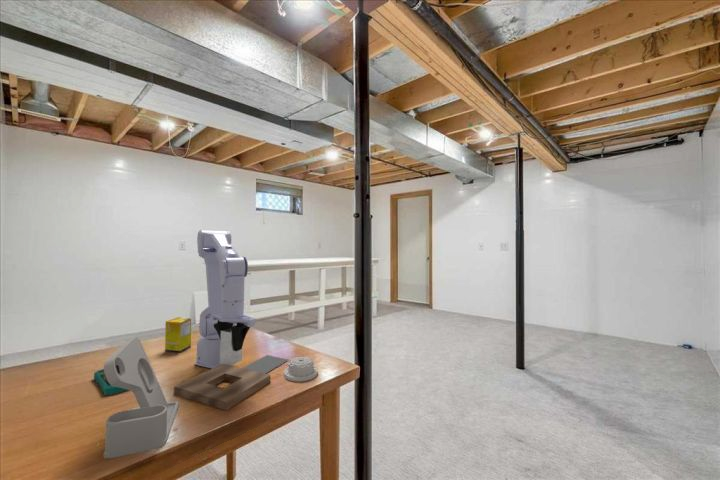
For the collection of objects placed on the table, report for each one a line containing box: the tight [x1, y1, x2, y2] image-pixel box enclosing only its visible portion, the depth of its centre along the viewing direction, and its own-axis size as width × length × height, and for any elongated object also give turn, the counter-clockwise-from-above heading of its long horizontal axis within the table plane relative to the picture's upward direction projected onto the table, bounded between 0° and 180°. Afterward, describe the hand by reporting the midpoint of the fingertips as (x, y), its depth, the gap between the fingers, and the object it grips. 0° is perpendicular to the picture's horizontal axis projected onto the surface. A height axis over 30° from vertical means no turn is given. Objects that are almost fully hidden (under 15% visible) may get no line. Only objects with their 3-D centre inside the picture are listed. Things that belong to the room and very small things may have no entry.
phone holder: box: [103, 336, 180, 459], centre depth 65 cm, size 17×10×18 cm, turn 22°
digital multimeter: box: [93, 368, 128, 397], centre depth 84 cm, size 7×15×3 cm, turn 50°
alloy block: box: [220, 328, 243, 366], centre depth 85 cm, size 4×4×9 cm
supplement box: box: [164, 317, 192, 354], centre depth 110 cm, size 6×6×11 cm
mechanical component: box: [283, 356, 318, 382], centre depth 92 cm, size 10×4×10 cm
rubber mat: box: [242, 354, 289, 374], centre depth 98 cm, size 9×14×1 cm, turn 157°
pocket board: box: [173, 364, 271, 411], centre depth 83 cm, size 18×16×2 cm
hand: (231, 348), depth 85 cm, fingers closed on alloy block, 4 cm apart
